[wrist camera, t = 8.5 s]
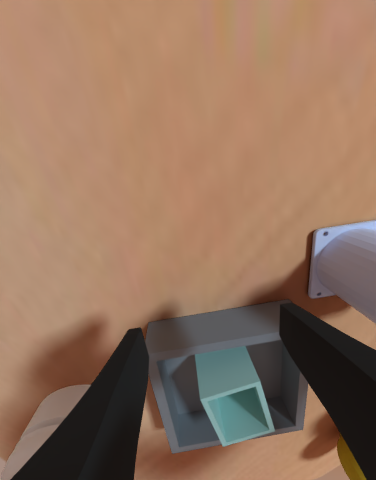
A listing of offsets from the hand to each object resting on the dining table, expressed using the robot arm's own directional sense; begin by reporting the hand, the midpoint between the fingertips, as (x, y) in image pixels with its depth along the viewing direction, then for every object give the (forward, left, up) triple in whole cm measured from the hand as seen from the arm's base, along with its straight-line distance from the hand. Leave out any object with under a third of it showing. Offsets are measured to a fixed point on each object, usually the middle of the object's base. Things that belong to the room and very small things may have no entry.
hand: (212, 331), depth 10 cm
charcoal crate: (-2, +15, -9) cm, 18 cm away
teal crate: (-2, +15, -9) cm, 17 cm away
